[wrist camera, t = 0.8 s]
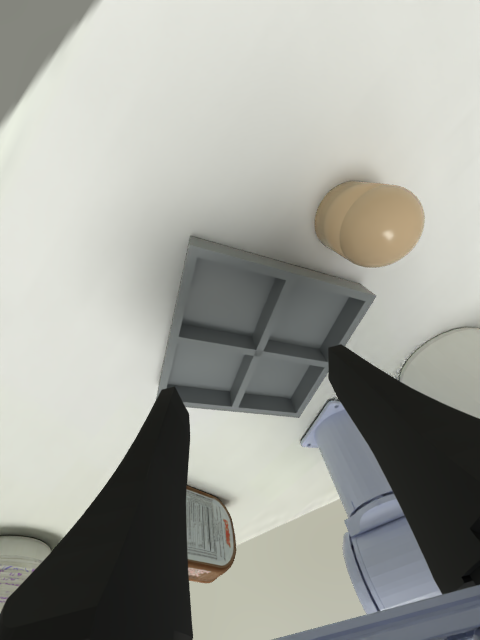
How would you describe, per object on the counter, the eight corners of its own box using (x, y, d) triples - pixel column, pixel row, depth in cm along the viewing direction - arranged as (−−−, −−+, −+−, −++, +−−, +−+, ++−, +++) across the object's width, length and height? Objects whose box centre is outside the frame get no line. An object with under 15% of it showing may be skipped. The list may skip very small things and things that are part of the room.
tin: (135, 479, 30) (116, 574, 23) (152, 467, 30) (138, 562, 23) (219, 508, 38) (224, 588, 30) (235, 499, 37) (244, 579, 30)
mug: (490, 308, 24) (659, 390, 15) (488, 371, 29) (611, 459, 20) (366, 368, 26) (452, 471, 17) (384, 417, 31) (457, 514, 22)
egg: (388, 193, 17) (466, 205, 12) (355, 256, 19) (409, 287, 14) (333, 171, 16) (395, 172, 11) (304, 239, 18) (344, 267, 13)
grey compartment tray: (360, 283, 20) (376, 295, 18) (292, 400, 27) (299, 417, 25) (190, 235, 16) (189, 244, 14) (158, 384, 23) (155, 404, 21)
